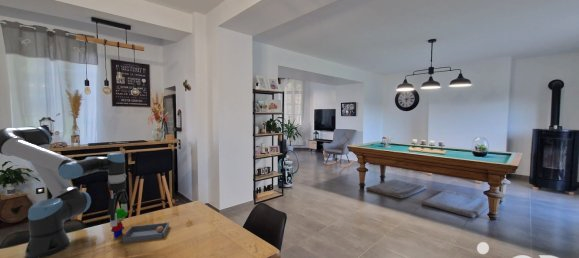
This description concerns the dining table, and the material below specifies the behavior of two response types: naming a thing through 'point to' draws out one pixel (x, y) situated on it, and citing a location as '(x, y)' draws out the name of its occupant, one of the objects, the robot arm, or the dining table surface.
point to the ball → (160, 229)
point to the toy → (119, 222)
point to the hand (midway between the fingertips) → (119, 220)
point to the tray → (144, 232)
